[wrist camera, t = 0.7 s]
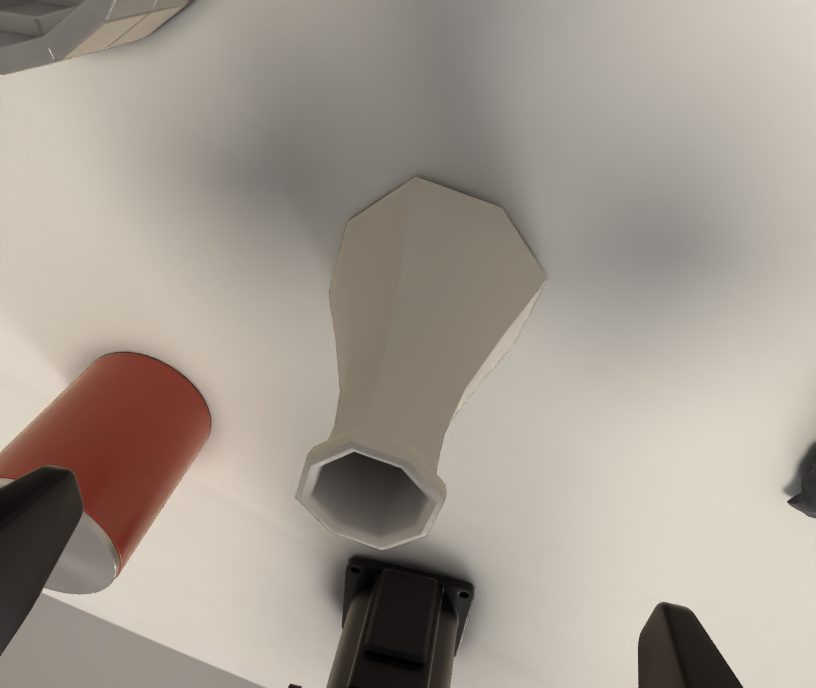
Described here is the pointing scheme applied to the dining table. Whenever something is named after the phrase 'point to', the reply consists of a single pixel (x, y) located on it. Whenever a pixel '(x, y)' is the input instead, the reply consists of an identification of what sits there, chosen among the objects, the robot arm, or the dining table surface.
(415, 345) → the flask
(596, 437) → the dining table surface
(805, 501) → the dark grey cloth
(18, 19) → the bowl
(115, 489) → the tin can
